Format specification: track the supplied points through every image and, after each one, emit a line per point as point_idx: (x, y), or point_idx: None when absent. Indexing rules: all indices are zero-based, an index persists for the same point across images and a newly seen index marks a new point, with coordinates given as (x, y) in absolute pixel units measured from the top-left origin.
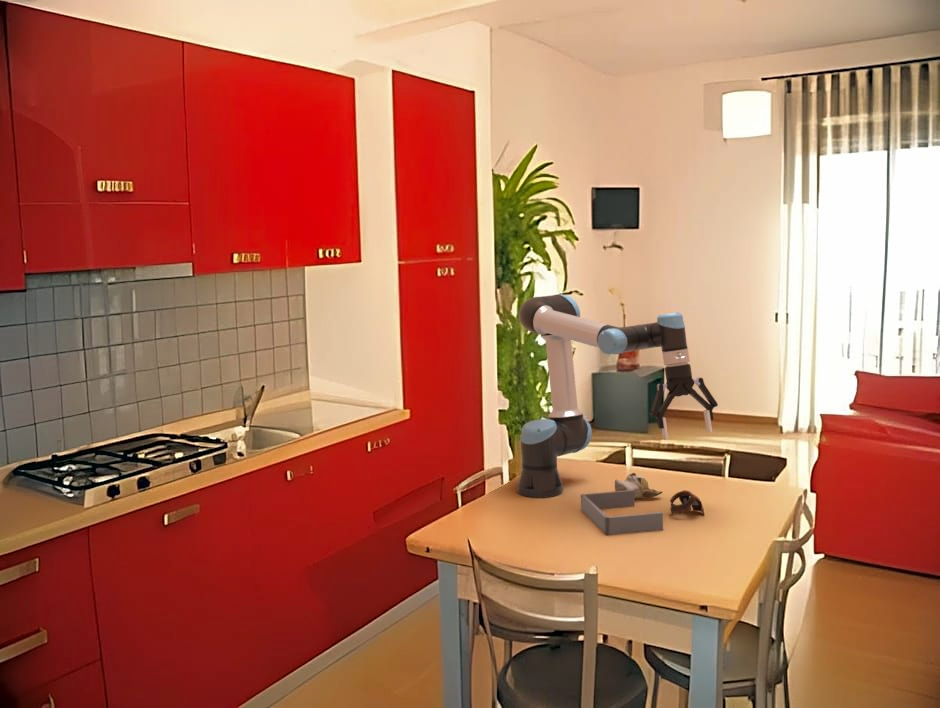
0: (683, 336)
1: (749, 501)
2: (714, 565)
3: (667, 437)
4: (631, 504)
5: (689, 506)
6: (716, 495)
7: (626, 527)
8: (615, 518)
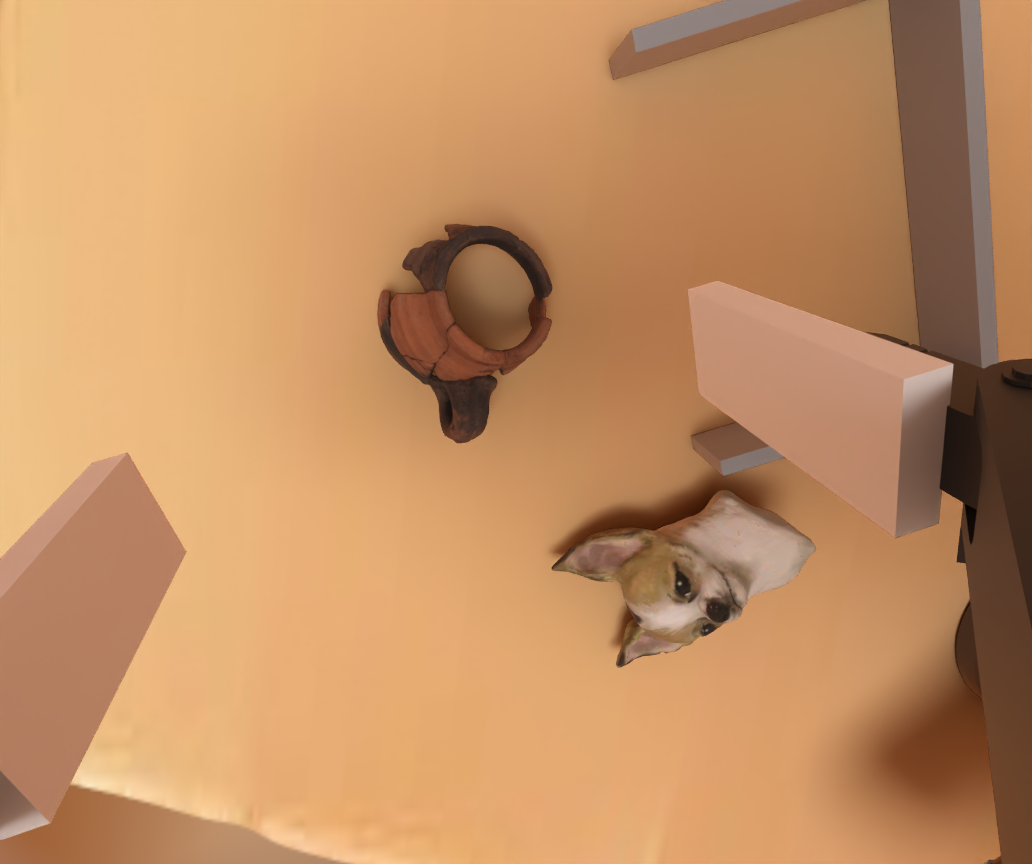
0: None
1: None
2: None
3: (711, 292)
4: (707, 434)
5: (456, 232)
6: (299, 600)
7: None
8: None
